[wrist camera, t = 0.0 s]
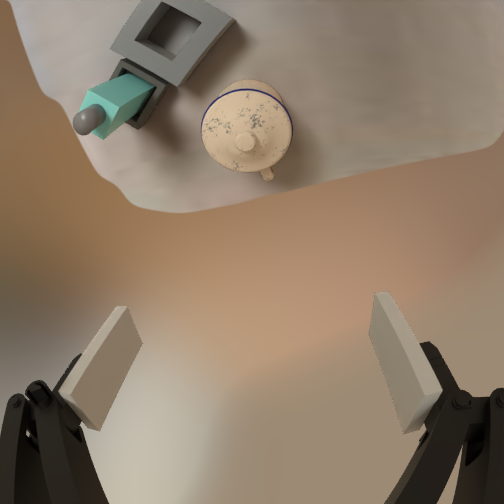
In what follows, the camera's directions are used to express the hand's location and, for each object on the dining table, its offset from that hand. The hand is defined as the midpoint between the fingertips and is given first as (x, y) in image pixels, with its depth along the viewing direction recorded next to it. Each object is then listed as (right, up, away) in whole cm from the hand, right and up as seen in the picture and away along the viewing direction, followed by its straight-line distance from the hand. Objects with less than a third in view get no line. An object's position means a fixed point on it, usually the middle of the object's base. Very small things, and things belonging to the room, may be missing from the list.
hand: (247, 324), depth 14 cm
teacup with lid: (0, +20, +19) cm, 28 cm away
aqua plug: (-15, +24, +16) cm, 33 cm away
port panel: (-9, +30, +11) cm, 33 cm away
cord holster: (-15, +24, +16) cm, 33 cm away
